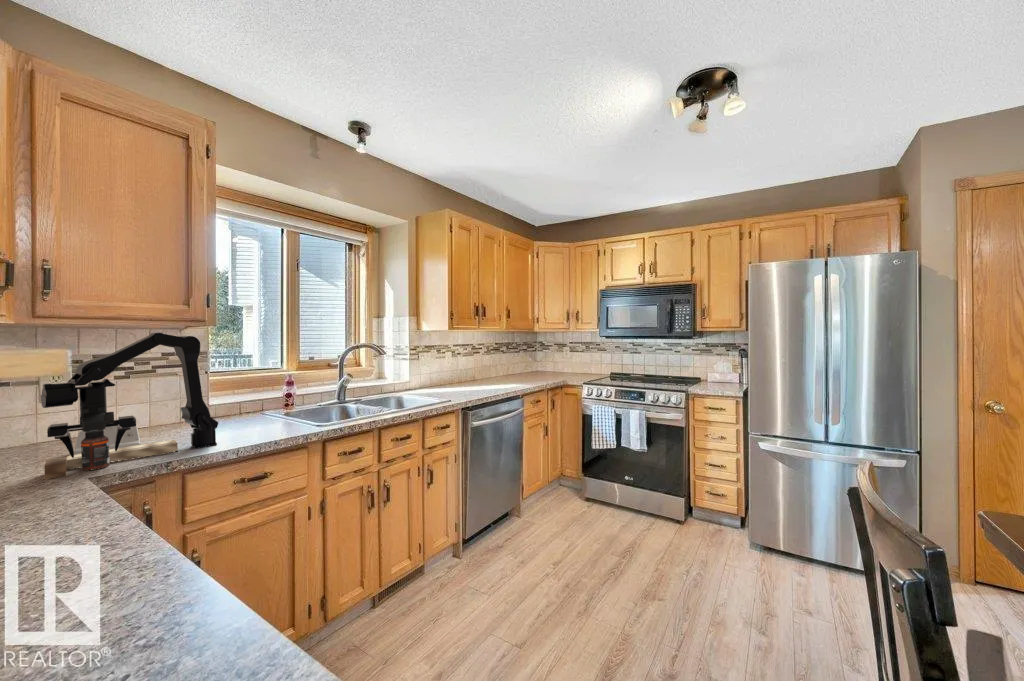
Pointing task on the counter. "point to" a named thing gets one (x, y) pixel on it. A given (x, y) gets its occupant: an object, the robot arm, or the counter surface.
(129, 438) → the grey curved bracket
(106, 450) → the supplement bottle
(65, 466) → the walnut block
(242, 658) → the counter surface
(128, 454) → the maple board
